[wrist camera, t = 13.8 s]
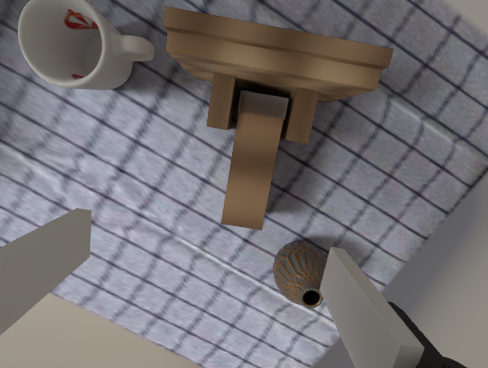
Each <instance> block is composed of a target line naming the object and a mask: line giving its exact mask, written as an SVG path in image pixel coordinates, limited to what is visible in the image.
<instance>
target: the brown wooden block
mask: <svg viewBox="0 0 488 368" xmlns="http://www.w3.org/2000/svg"><path fill="white" fill-rule="evenodd" d="M287 104H288V98H283V97H277V96H271V95H266V94H260V93H254V92H249V91H243V90H241V96H240V102H239V108H238V112H239V115H238V121H237V127H236V134H235V140H234V146H233V152H232V159H231V165H230V171H229V177H228V184H227V190H226V196H225V202H224V209H223V215H222V221H221V224H227V225H233V226H239V227H245V228H251V229H258V230H262V226H263V221H264V216H265V211H266V206H267V201H268V196H269V191H270V185H271V180H272V175H273V170H274V165H275V160H276V155H277V150H278V145H279V140H280V135H281V130H282V125H283V119H285V114H286V109H287Z"/></svg>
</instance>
